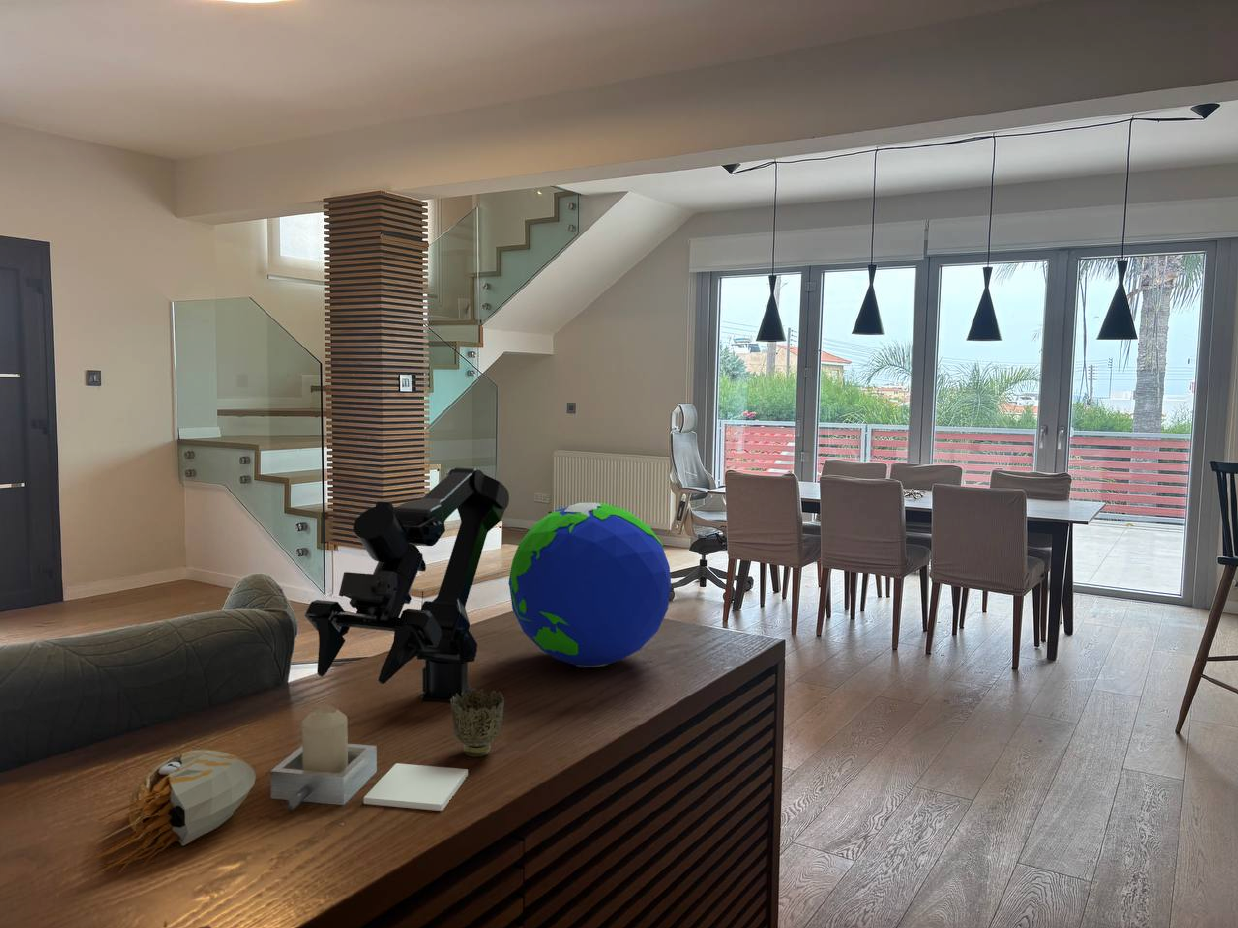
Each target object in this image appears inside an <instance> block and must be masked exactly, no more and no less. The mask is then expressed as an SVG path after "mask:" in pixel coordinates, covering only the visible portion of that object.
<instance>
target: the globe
mask: <svg viewBox="0 0 1238 928" xmlns="http://www.w3.org/2000/svg"><path fill="white" fill-rule="evenodd" d="M511 562H512V563H511V566H510V570H509V571H510V572H509V577H508V586H509V587H508V588H509V593H510V595H509V596H510V602H511V603H510V604H511V608H512V611H513V613H514V615H515V617H516V619H517V622H518V623H519V625H520V628H521V629H522V631H523V633H524V634H525V635H526V636H527V637H528V638H529V639H530V640H531V641H532V643H534V644H535V646H537V647H538V648H539V649H540V650H541V651H543V652H544V653H546V654H547V655H550V656H551V657H552V658H554V659H556V660H559V661H561V662H563V663H567V664H571V665H574V666H576V667H579V668H580V667H582V668H587V667H589V668H590V667H591V668H592V667H593V668H597V667H600V668H601V667H606V666H609V665H610V664H613V663H618V662H620V661H621V660H624V659H625V658H627V657H629V656H631V655H633V654H634V653H637V652H638V651H641V649H642V648H643V647H644V646H645V645H646V644H647V643H648V642H649V641H650V640H651V639H652V638H653V636H655V634H657V633H658V631H659V630H660V627H661V624H663V623H662V622H663V620H664V619H665V616H666V614H667V613H668V610H669V605H670V596H671V590H672V576H671V575H672V574H671V566H670V563H669V561H668V558H667V556H666V553H665V550H664V545H663V543H662V541H661V540H660V539H659V538H658V536H657V535H656V534H655V533H654V531H653V530H652V529H651V527H650V526H649V525H648V524H647V523H645V522H644V521H643V520H641V519H640V518H638V517H637V516H635V515H634V514H633V513H631V512H630V511H628V510H627V509H624V508H620V507H618V506H614V505H611V504H608V503H604V502H578V503H575V504H571V505H568V506H566V507H563V508H560V509H556V510H555V511H553V512H550V513H549V514H547V515H546V516H544V517H543V518H542V519H540V520H539V521H537V522H535V523H534V524H533V526H532V527H531V528H530V529H529V531H528V532H527V533H526V534H525V536H524V537H523V538H522V540H521V541H520V542H519V543H518V547H517V548H516V551H515V553H514V556H513V558H512V561H511Z"/></svg>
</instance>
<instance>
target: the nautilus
mask: <svg viewBox="0 0 1238 928" xmlns="http://www.w3.org/2000/svg"><path fill="white" fill-rule="evenodd" d="M256 779H257V776H256V771H255V769H254V768H253V767H252V766H251V765H250V764H249V763H247V762H246V761H245V760H243V759H242V758H241V757H239V756H237V755H235V754H232V753H227V752H222V751H219V750H218V751H217V750H209V749H208V750H206V749H205V750H204V749H203V750H202V749H200V750H191V751H187V752H184V753H180V754H178V755H175V756H173V757H171V758H169V759H167V760H165V761H163V762H161V763H160V764H158V765H157V766H156V767H154V768H153V769H151V770H150V771H149V772H148V773H147V774H146V775H145V776H144V777H143V779H142V780H141V781H140V782H139V783H137V784H136V785H134V786H133V787H134V788H133V790H132V793H131V797H130V801H129V804H128V805H126V806H123V807H121V808H119V809H118V810H114V811H113V812H111V813H109V814H108V815H105V816H103V817H101V818H99V819H98V821H102V820H104V819H106V818H107V817H110V816H112V815H114V814H116V813H118V812H120V811H124V810H125V809H127V808H129V810H128V811H127V812H126V813H124V815H122V816H119V817H118V818H116V819H114V820H113V821H111V822H109V823H107V824H106V826H109V825H110V824H113V823H115V822H118V821H120V820H122V819H125V818H126V817H127V816H129V818H128V822H129V824H128V825H126V826H123V828H120V829H118V830H116V831H114V832H113V833H111V834H109V835H107V836H106V837H104V838H101V839H100V840H98V841H97V842H94V843H93V844H92V846H95V845H97V844H99V843H101V842H103V841H105V840H106V839H109V838H111V837H113V836H114V835H116V834H118V833H120V832H122V831H123V830H125V829H128V828H131V829H132V830H133V832H136V833H134V834H133V835H132V836H131V837H130V838H127V839H125V840H124V841H122V842H120V843H118V844H117V845H115V846H113V847H111V848H109V849H107V850H105V851H104V852H102V853H100V854H96V855H95V856H93V857H91V858H88V859H86V861H91V860H95V859H96V860H97V859H98V858H101V857H103V856H106V855H108V854H112V853H113V852H115V851H117V850H119V849H121V848H123V847H125V846H126V845H129V844H131V843H134V842H140V841H143V840H144V842H142V844H141V845H139V846H138V847H136V848H135V849H134V850H132V851H130V852H129V853H126V854H124V855H122V856H121V857H118V858H116V859H113V860H111V861H107V863H108V864H109V865H103V867H105V868H102V869H100V870H99V871H96V872H92V875H96V874H99V873H101V872H104V871H105V870H108V869H110V868H112V867H117V866H120V865H123V867H122V868H121V869H120V870H119V871H118V873H121V872H122V871H123V870H124V869H125V868H126V867H127V866H128V865H129V864H130V863H132V862H135V861H137V860H140V859H144V858H146V857H148V856H149V855H151V856H150V857H149V858H148V859H147V860H146V861H145V862H144V864H143V866H142V867H144V866H145V865H147V863H148V861H150V860H151V858H153V857H154V856H155V855H156V854H157V853H159V852H162V851H164V850H165V849H166V848H167V847H169V846H170V845H172V843H174V842H175V841H176V842H179V844H181V846H185V845H187V844H189V843H191V842H192V841H195V840H196V839H198V838H200V837H201V836H203V835H206V834H207V833H210V832H211V831H213V830H215V829H217V828H218V827H220V826H221V825H222V824H224V823H225V822H226V821H228V820H229V819H230V818H231V817H233V815H234V813H235V811H236V810H237V809H238V808H239V806H241V804H242V803H243V802H244V801H245V800H246V798H247V796H248V794H249V793H250V791H251V790H252V788H253V786H254V785H255V782H256ZM137 836H138V837H137ZM158 836H159V837H158ZM157 837H158V838H157ZM156 839H157V841H156V843H154V844H153V845H151V844H152V842H154V840H156ZM150 845H151V846H150ZM162 847H163V848H162ZM159 848H161V849H159ZM141 849H142V850H141ZM150 849H152V850H151V851H149V852H148V853H146V854H144V855H142V856H140V855H141V854H142V853H144V852H145V851H147V850H150ZM157 849H159V850H157ZM140 850H141V851H140ZM156 850H157V851H156ZM139 851H140V852H139ZM155 851H156V852H155ZM138 852H139V853H138ZM137 853H138V854H137ZM134 854H136V855H135V856H134V857H133V858H132V859H129V860H126V859H128V858H130V857H131V856H133V855H134ZM125 860H126V861H125ZM113 862H114V863H113ZM110 863H113V864H110Z"/></svg>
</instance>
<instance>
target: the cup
mask: <svg viewBox="0 0 1238 928" xmlns="http://www.w3.org/2000/svg"><path fill="white" fill-rule="evenodd" d="M449 704H450V710H451V719H452V726H453V730H454V734H455V737H456V739H457V740H458V741H459V742H460V743H461V744H463V751H464V753H465V754H466V755H467V756H469V757H474V758H475V757H476V758H477V757H478V758H479V756H480V757H484V756H485V755H487V754H489V752H490V750H491V747H492V746H491V743H493V741H495V740H496V739H497V738H498V736H499V733H500V730H501V726H502V720H503V712H504V704H505V696H503V694H502V692H496V691H495V690H492V692H491V693H490V695H489V694H484V690H483V689H480V690H479V692H478V691H477V689H476V688H471V690H470V691H469V692H468V693H467V694H466V693H465V691H463V692H462V694H461V697H460V696H459V695H458V694H457V693H456V695H455V697H454V696H452V700H451V699H450V702H449ZM483 755H484V756H483Z"/></svg>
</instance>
